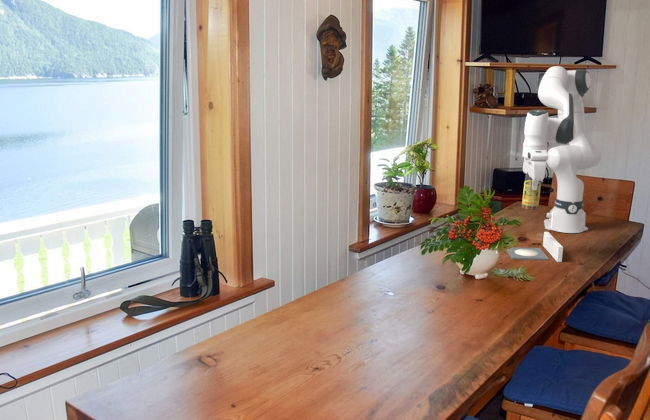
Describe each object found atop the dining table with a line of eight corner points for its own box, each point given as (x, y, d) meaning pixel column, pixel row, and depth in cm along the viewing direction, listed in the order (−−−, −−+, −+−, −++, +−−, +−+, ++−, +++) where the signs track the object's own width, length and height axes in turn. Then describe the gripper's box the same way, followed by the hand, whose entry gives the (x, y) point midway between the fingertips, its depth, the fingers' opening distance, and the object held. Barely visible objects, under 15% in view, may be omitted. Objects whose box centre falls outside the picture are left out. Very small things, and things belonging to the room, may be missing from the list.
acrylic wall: (542, 245, 259) (544, 231, 258) (546, 245, 259) (548, 231, 258) (557, 262, 238) (558, 247, 236) (561, 262, 238) (563, 247, 236)
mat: (505, 248, 255) (505, 246, 255) (539, 249, 254) (539, 247, 253) (512, 259, 241) (512, 257, 241) (548, 260, 240) (548, 258, 240)
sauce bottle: (521, 209, 242) (524, 159, 237) (522, 206, 247) (525, 157, 243) (538, 211, 239) (542, 160, 235) (539, 207, 245) (543, 158, 240)
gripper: (520, 148, 248) (517, 182, 251) (532, 156, 228) (529, 192, 232) (536, 149, 248) (533, 182, 251) (549, 156, 228) (546, 193, 231)
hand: (531, 187), depth 241 cm, fingers closed on sauce bottle, 6 cm apart
